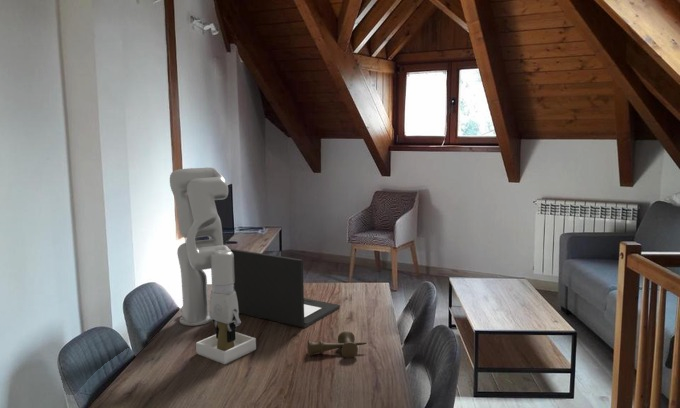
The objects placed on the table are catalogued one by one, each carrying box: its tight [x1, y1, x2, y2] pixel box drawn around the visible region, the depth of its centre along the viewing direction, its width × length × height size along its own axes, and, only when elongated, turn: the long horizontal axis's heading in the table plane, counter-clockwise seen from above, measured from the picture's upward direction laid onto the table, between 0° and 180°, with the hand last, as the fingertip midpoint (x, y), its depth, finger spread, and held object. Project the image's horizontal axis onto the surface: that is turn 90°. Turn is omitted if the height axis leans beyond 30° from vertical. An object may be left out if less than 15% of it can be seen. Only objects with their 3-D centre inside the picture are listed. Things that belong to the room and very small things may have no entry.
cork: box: [217, 321, 234, 351], centre depth 179 cm, size 6×6×11 cm
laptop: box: [229, 248, 341, 329], centre depth 218 cm, size 37×27×27 cm
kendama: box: [306, 330, 367, 359], centre depth 178 cm, size 6×10×20 cm
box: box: [195, 331, 257, 365], centre depth 180 cm, size 14×14×4 cm
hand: (225, 338), depth 180 cm, fingers open, 4 cm apart
